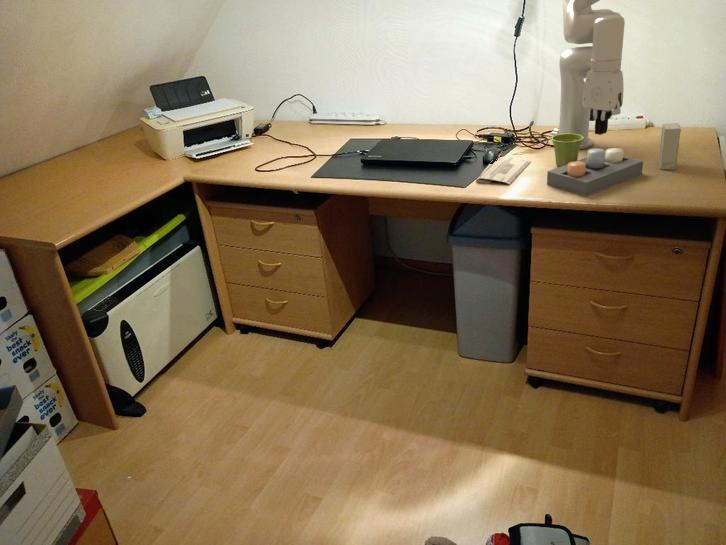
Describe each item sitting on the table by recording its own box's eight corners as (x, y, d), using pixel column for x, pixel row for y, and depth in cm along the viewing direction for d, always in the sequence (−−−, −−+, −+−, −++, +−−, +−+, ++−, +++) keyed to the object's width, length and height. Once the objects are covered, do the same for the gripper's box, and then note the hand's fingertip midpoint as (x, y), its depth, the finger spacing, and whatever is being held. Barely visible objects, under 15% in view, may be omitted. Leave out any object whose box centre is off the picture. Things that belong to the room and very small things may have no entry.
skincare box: (676, 169, 178) (682, 128, 172) (659, 169, 179) (664, 129, 174) (673, 163, 183) (679, 122, 177) (657, 163, 184) (662, 123, 179)
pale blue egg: (583, 165, 177) (584, 151, 175) (594, 161, 179) (595, 147, 177) (596, 169, 173) (597, 154, 171) (607, 165, 175) (609, 150, 173)
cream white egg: (601, 165, 181) (602, 151, 179) (611, 161, 183) (613, 147, 181) (614, 168, 177) (616, 154, 175) (625, 164, 179) (627, 150, 177)
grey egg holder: (546, 184, 178) (547, 171, 176) (602, 164, 188) (603, 151, 187) (585, 196, 167) (586, 182, 165) (641, 174, 178) (643, 160, 176)
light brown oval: (563, 178, 174) (564, 164, 172) (575, 174, 176) (575, 160, 174) (576, 182, 170) (577, 168, 168) (588, 178, 173) (589, 163, 171)
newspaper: (494, 161, 203) (494, 154, 202) (530, 167, 198) (531, 160, 197) (469, 184, 186) (469, 176, 185) (507, 191, 181) (508, 183, 180)
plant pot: (544, 164, 194) (545, 137, 190) (567, 157, 197) (569, 131, 193) (563, 171, 186) (565, 143, 182) (588, 164, 189) (590, 137, 185)
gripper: (573, 66, 167) (570, 132, 176) (621, 70, 156) (615, 140, 164) (591, 61, 171) (587, 126, 179) (639, 65, 159) (632, 134, 168)
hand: (600, 133), depth 172 cm, fingers closed
